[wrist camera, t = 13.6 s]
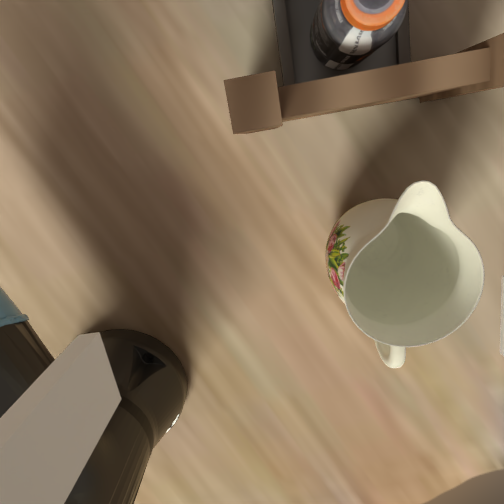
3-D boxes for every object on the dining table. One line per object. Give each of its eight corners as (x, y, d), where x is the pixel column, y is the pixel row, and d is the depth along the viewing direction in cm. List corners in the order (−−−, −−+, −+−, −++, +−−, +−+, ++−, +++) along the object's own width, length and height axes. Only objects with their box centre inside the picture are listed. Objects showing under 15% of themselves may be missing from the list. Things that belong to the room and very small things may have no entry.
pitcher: (319, 324, 44) (341, 405, 31) (315, 168, 39) (339, 186, 26) (415, 319, 43) (479, 400, 30) (424, 159, 38) (507, 174, 25)
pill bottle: (352, 82, 35) (390, 60, 24) (297, 51, 35) (310, 14, 24) (387, 17, 34) (444, -37, 23) (330, -17, 33) (360, -90, 22)
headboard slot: (247, 133, 38) (233, 133, 23) (222, -15, 34) (185, -135, 19) (451, 96, 36) (586, 70, 21) (449, -64, 32) (613, -240, 17)
